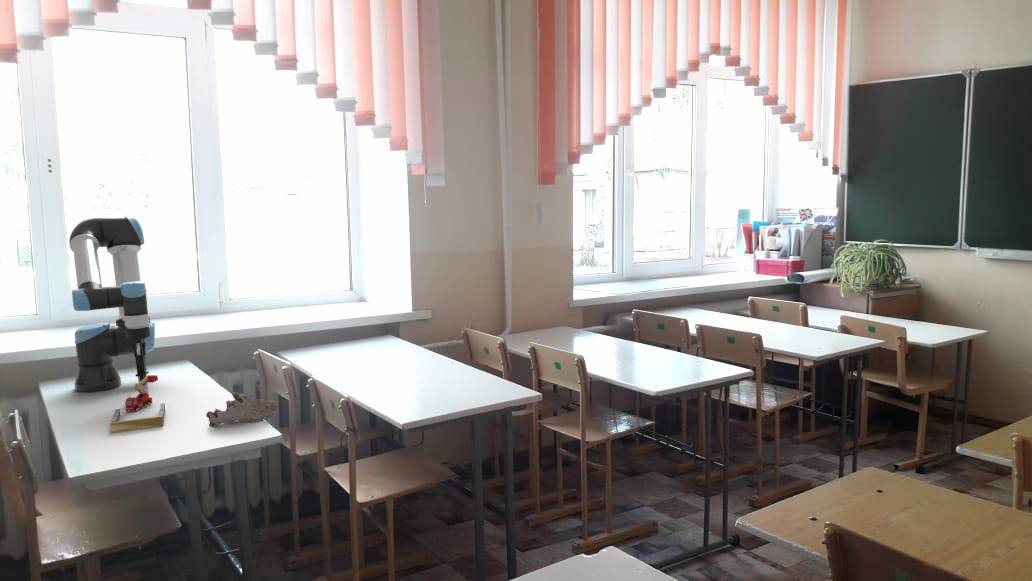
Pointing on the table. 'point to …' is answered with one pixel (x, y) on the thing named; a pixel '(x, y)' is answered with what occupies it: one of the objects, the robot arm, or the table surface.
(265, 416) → the mineral specimen
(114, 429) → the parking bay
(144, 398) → the toy fire truck
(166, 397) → the table surface
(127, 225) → the robot arm
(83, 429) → the table surface
